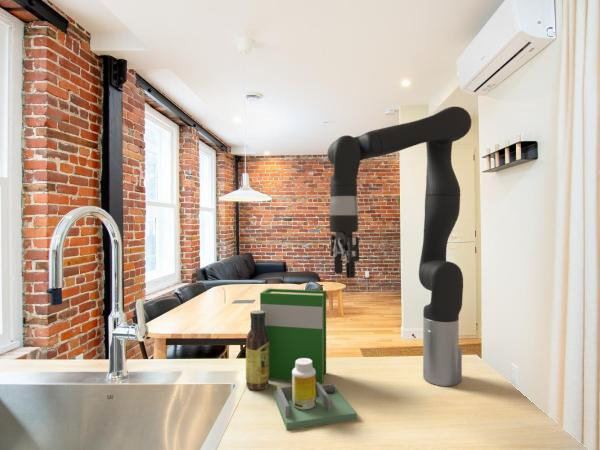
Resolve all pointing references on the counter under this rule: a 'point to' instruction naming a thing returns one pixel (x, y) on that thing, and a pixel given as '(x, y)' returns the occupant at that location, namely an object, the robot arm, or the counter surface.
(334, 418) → the green plate with knob
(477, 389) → the counter surface
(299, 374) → the supplement bottle
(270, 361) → the hardback book
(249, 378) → the sauce bottle
